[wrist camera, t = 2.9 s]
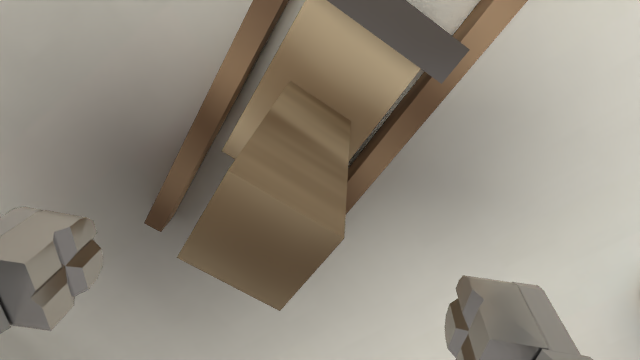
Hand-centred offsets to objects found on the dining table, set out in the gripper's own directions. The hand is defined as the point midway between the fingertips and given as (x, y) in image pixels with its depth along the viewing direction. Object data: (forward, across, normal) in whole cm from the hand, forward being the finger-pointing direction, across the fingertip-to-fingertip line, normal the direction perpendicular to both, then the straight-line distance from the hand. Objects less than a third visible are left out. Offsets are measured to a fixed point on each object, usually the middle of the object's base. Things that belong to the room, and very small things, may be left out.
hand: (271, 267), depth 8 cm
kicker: (+11, 0, -1) cm, 11 cm away
